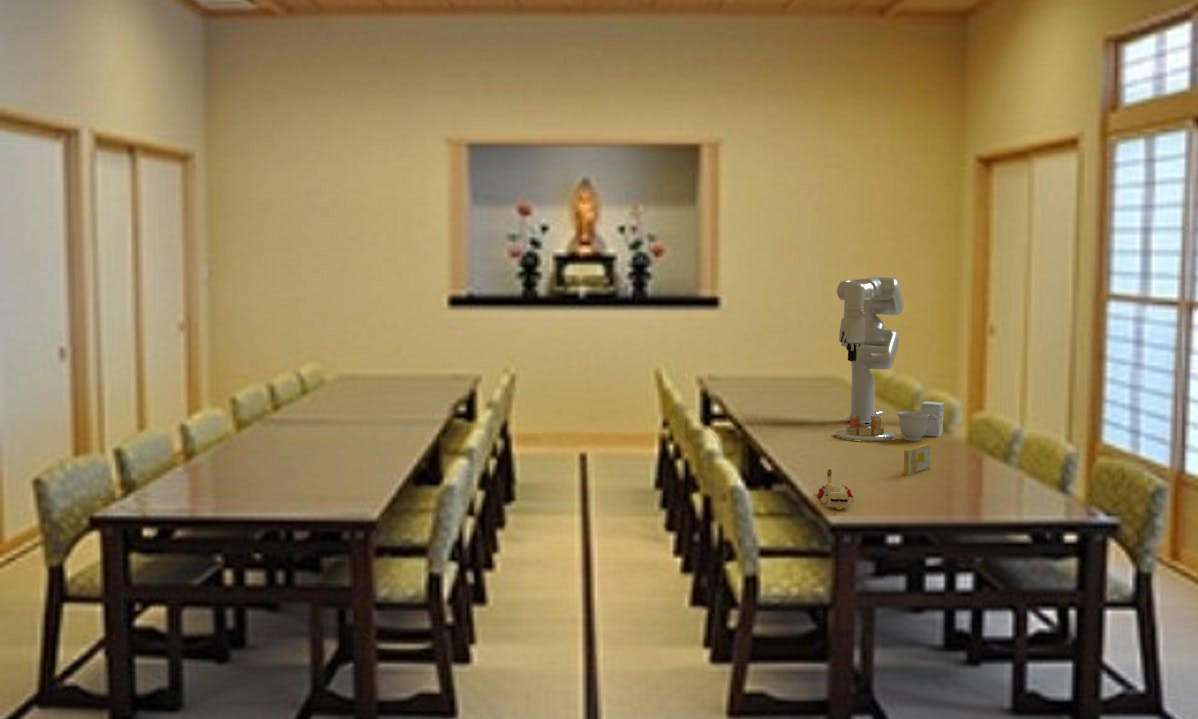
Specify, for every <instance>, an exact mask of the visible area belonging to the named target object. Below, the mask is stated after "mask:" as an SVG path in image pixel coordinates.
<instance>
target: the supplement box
mask: <svg viewBox="0 0 1198 719" xmlns="http://www.w3.org/2000/svg"><path fill="white" fill-rule="evenodd" d="M944 407H945V402H937V401H927V400H926V401H923V402H922V403H921V408H920V412H924V413H929V414H930V416H931V415H936V416H937V418H938V423H937V424H936V425H935V426H933V427H930V428H928V429H927V430H926V432H925V434H924V435H923V436H925V437H926V436H927V437H935V436H936V437H937V438H939V437H941V436H942V435H943V426H944V410H945V409H944ZM930 416H929V419H930ZM935 421H936V419H935V418H934V417H932V418H931V420H928V421H927V426H926V428H927V427H928V426H929V425H932V424H934V423H935Z"/></svg>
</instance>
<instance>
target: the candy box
mask: <svg viewBox="0 0 1198 719" xmlns="http://www.w3.org/2000/svg"><path fill="white" fill-rule="evenodd" d="M928 468H930V469H931V444H930V443H925V444H924V443H923V444H921V445H918V446H914V447H910V448H907V449H904V450H903V475H904V474H907V475H906V476H911V475H910V474H912V475H914V474H913V473H915V474H917V473H916V472H918V473H920V472H919V471H921V472H923V471H922V470H924V471H926V470H925V469H927V470H929V469H928Z"/></svg>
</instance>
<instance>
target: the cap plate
mask: <svg viewBox="0 0 1198 719" xmlns="http://www.w3.org/2000/svg"><path fill="white" fill-rule="evenodd" d="M859 428H871V426H865V425H861V426H860V427H859ZM835 435H836V436H837V437H840V438H845V439H851V440H861V441H860V442H862V441H884V442H887V441H886V440H891V441H893V440H892V439H894V438H895V436H896V434H895V433H893V432H892V431H887V430H884V434H883V435H876V436H873V435H871V436H865V435H854V434H849V433H846V428H842V429H838V430H836V431H835ZM836 436H835V437H836ZM837 437H836V438H837ZM840 438H839V439H840ZM845 439H844V440H845ZM851 440H850V441H851ZM894 440H895V439H894Z"/></svg>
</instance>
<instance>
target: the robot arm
mask: <svg viewBox="0 0 1198 719" xmlns="http://www.w3.org/2000/svg"><path fill="white" fill-rule="evenodd" d="M836 293H837V297H838V298H839V300H841V301H844V302H843V303H844V304H843V307H844V308H843V317H842V318H841V321H840V327H839V334H838V335H839V338H838V341H839V343H841V346H842V347H845V348H846V351H847V361H849V362H851V363H850V364H851V393H850V394H851V398H850V415H858V416H860V424H865V423H869V424H871V416H881V417H882V416H883V415H884V414H883V411H877V410H876V409H875V407H876V406H875V405H876V404H875V402H876V377H875V375H874V374H873V372H872V371H871V370H872V369H873V370H890V369H891V368H892V367H893V365H894V362H895V359H896V356H897V352H898V348H899V345H900V344H899V342H900V338H899V335H898V333H897V331H896V330H892V329H885V328H886V326H885V324H884V322H883V321H882V319H881V318H880V317H879V315H882V316H897V315H901V313H902V312H903V309H904V300H903V296H902V291H901V287H900V284H899V282H898V280H897V279H896V278H894V277H886V276H885V277H879V276H873V277H871V276H870V277H868V278H859V279H851V280H848V279H847V280H842V281H840V282H839V284H838V285H837V288H836ZM848 421H850V416H849V417H846V422H848Z"/></svg>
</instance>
